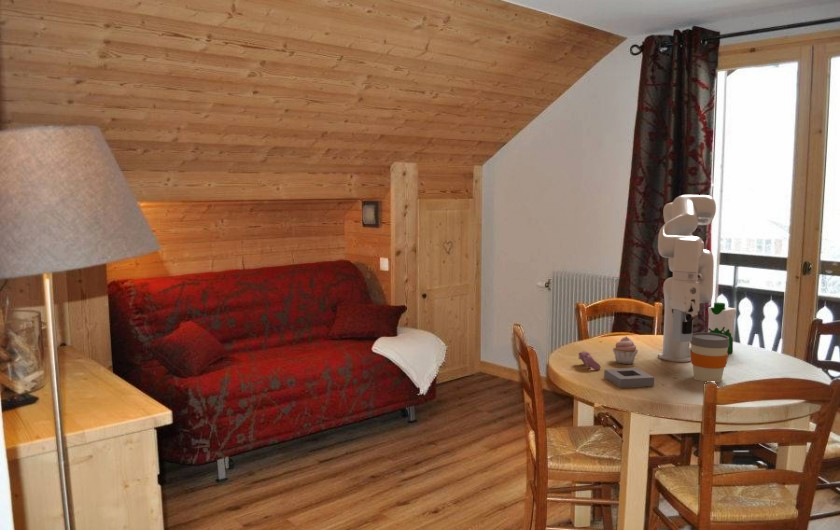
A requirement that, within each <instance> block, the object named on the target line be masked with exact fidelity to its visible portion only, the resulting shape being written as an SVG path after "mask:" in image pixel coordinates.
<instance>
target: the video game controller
mask: <svg viewBox="0 0 840 530" xmlns="http://www.w3.org/2000/svg"><path fill="white" fill-rule="evenodd" d="M578 359H579V360H581V361H582V363H583V364H584V366H585V367H586V368H587V369H591V368H592V369H593V370H595V371H600V370H601V365H600V364H599V362H598V361H596V360H595V359H594V358H593V357H592V356H591V353H590V352H589V351H585V350H583V351H579V353H578Z"/></svg>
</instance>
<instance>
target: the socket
mask: <svg viewBox="0 0 840 530" xmlns="http://www.w3.org/2000/svg"><path fill="white" fill-rule="evenodd" d="M603 372H604V373H603V374H604V375H603V378H604V379H605V380H606V381H608V382H610V383H612V384H613V385H615V386H616V387H618V388H620V389H622V388H623V389H625V388H646V386H648V387H654V386H655V377H654V376H652V374H649V373H647V372H645V371H643V370H641V369H640V368H638V367H628V368H627V367H626V368H624V367H623V368H605V369H604V371H603Z"/></svg>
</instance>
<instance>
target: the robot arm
mask: <svg viewBox="0 0 840 530" xmlns="http://www.w3.org/2000/svg"><path fill="white" fill-rule="evenodd" d="M716 206H717V204H716V201H715V199H714V198H713V196H711V195H707V194H700V195H699V194H682V195H679V196H677V197H675V198H674V200H673V201H672V202H669V203H666V204H665V205H664V207H663V211H662V212H663V221H664V224H663V225H662V226H661V227H660V229H659V232H658V237H657V250H658V253H659V255H660V256H661V258H666V259H667V258H668V259H667V261H668V269H669V271H670V272H672V276H671V277H668V278H666V279H665V280H664V281H663V284H662V285H663V287H662V288H663V290H662V291H663V298H664V301H663V302H664V314H663V315H664V318H663V341H662V342H663V343H662V351H661V352H658V354H657V355H658V356H657V357H658V358H659V359H661V360H663V361H668V362H675V363H686V362H687V363H688V362H691V354H690V350H691V346H690V345H691V343H690V341H689V342H678V341H676V340H674V339H672V328H673V309H676V310H679V311H682V312H683V316H684V322H682V334H691V333H692V334H693V330H692V322H693V323H694V320H695V318H696V317H697V316H698V315H699V312H700V304H708V303H710V302H711V301H712V298H713V294H714V267H715V266H714V262H715V261H714V256H713V253H712V252H711V250H708V249H705V243H704V241H703V239H702V238H701V237H699V236H695V235H693V233H694V232H695V231H696V229H697V228H698V227H699V226H709V225H710V224H711V223H712V222H713V219H714V218H715V215H716V212H717V211H716V210H717V207H716ZM688 310H690V312H688ZM687 314H690V315H688V317H687Z"/></svg>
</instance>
